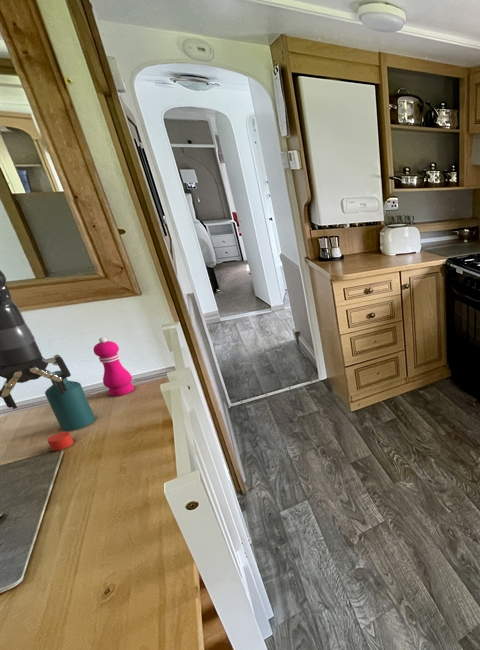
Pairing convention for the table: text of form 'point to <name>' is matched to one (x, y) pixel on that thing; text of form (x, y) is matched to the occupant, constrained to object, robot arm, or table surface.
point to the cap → (60, 441)
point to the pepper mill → (113, 368)
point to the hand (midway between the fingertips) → (39, 400)
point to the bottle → (70, 405)
